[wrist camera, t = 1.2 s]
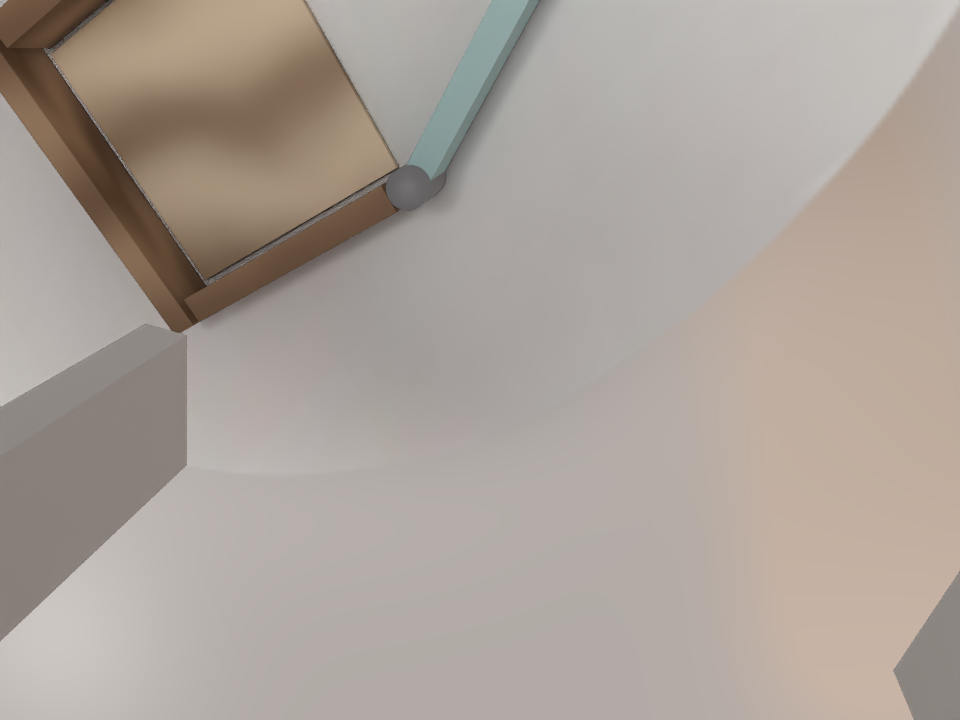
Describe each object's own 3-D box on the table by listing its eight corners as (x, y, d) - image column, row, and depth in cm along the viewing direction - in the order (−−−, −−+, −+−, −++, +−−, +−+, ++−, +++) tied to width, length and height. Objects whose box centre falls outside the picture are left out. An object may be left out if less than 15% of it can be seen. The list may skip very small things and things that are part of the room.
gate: (589, -180, 23) (583, -212, 20) (633, -150, 23) (634, -177, 20) (401, 180, 29) (376, 194, 27) (436, 203, 30) (416, 220, 27)
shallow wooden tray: (10, 41, 30) (-36, 41, 28) (222, -146, 26) (185, -164, 24) (203, 317, 34) (175, 335, 32) (416, 198, 30) (400, 210, 28)
